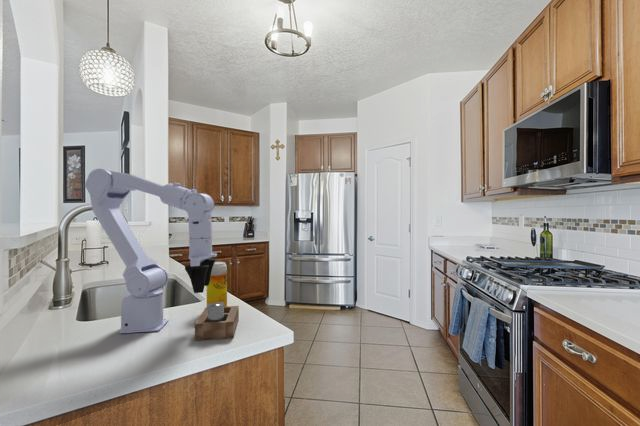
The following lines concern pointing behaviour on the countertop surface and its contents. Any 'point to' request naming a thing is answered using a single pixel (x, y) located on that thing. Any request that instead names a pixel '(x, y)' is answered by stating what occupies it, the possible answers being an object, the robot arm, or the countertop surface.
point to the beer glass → (218, 284)
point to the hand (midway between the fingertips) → (201, 288)
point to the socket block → (217, 325)
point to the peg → (215, 312)
